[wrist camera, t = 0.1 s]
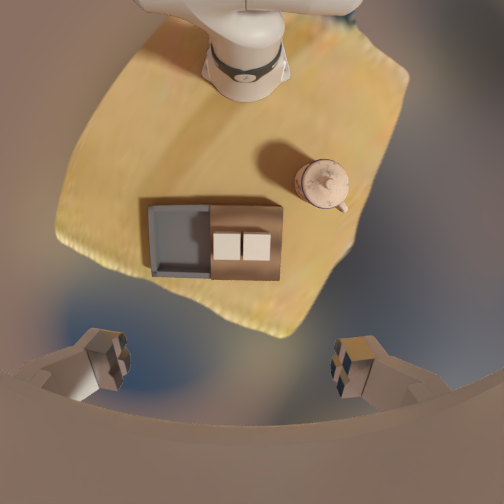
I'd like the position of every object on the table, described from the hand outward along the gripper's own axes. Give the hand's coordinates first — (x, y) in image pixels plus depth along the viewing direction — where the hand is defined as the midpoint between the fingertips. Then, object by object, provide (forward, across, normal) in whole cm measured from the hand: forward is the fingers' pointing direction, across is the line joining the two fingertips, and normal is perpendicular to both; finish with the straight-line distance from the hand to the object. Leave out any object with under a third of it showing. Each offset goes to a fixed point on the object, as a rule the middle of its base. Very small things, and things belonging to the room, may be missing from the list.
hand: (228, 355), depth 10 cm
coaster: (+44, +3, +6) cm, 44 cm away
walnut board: (+48, -1, +6) cm, 48 cm away
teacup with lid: (+48, -16, -6) cm, 51 cm away
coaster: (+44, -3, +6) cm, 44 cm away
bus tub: (+48, +12, +6) cm, 50 cm away
